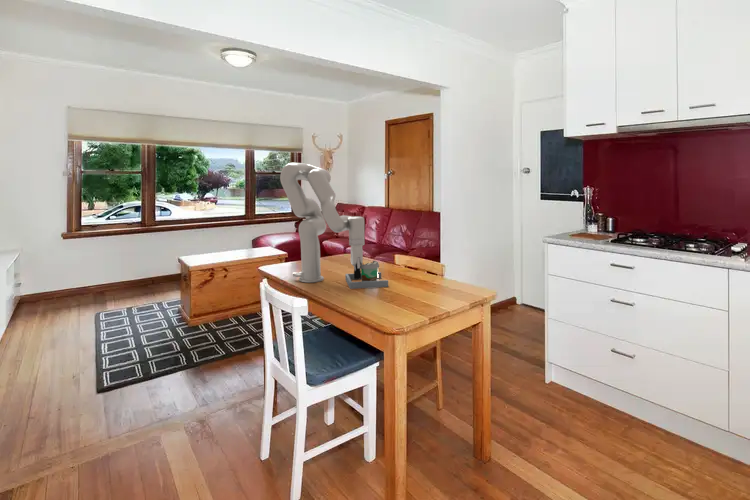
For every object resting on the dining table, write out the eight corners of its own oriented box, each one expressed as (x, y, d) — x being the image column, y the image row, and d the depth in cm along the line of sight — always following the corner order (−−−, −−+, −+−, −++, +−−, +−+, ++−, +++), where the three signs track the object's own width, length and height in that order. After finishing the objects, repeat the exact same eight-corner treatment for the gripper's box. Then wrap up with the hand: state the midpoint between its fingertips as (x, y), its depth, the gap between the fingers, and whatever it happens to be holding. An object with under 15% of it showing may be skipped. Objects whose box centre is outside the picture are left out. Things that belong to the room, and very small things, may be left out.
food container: (370, 286, 203) (371, 265, 201) (360, 284, 206) (360, 264, 204) (383, 281, 213) (383, 261, 212) (373, 279, 217) (373, 260, 215)
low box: (349, 288, 199) (349, 282, 198) (345, 279, 217) (345, 273, 216) (388, 286, 202) (388, 280, 202) (380, 277, 220) (380, 272, 219)
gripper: (347, 239, 211) (348, 275, 215) (351, 244, 197) (351, 282, 200) (362, 239, 213) (362, 274, 216) (366, 244, 198) (367, 281, 201)
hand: (357, 278), depth 208 cm, fingers closed
